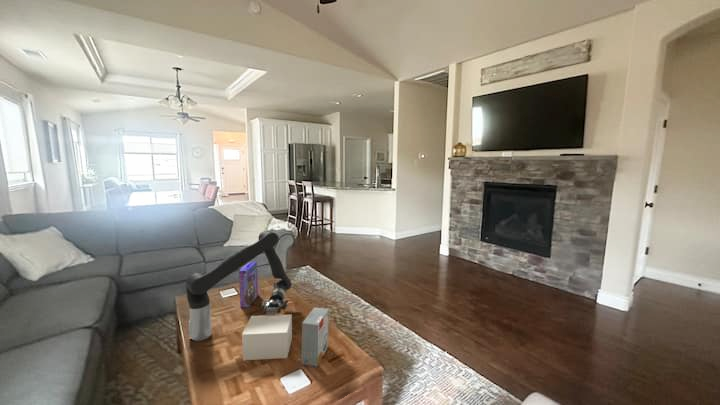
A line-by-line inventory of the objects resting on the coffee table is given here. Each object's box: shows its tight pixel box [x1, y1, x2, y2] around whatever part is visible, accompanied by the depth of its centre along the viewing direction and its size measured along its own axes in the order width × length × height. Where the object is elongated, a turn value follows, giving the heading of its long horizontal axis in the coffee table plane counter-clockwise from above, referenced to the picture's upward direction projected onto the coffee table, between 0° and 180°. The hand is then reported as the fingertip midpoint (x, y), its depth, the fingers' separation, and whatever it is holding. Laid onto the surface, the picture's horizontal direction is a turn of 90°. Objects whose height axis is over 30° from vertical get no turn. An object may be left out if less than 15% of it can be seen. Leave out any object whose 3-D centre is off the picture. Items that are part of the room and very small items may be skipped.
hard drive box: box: [301, 307, 329, 368], centre depth 135 cm, size 16×8×20 cm, turn 168°
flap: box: [241, 307, 293, 337], centre depth 140 cm, size 20×19×4 cm
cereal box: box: [238, 260, 259, 309], centre depth 187 cm, size 17×5×24 cm, turn 179°
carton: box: [241, 315, 293, 361], centre depth 140 cm, size 20×16×12 cm
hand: (271, 312), depth 146 cm, fingers open, 5 cm apart
